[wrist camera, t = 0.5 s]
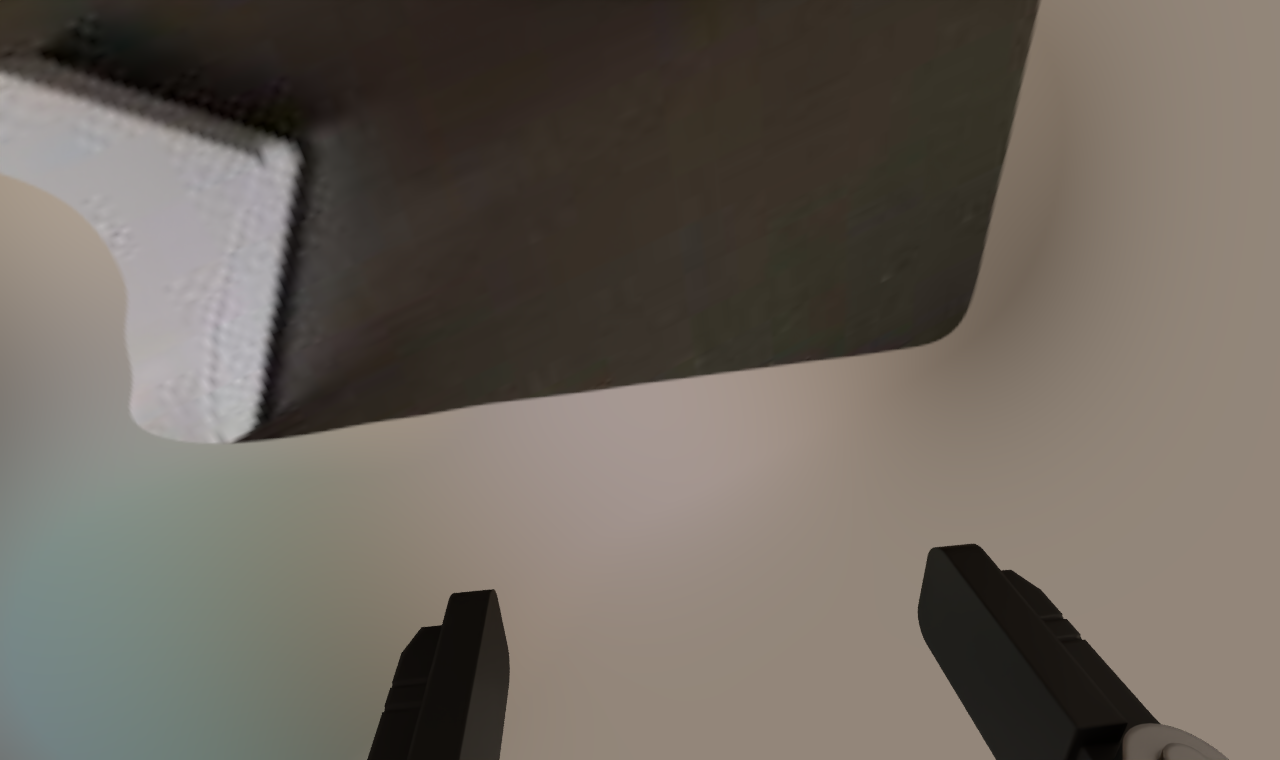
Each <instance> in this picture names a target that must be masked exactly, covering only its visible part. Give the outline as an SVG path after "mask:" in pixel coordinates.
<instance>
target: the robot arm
mask: <svg viewBox="0 0 1280 760" xmlns="http://www.w3.org/2000/svg"><path fill="white" fill-rule="evenodd" d="M918 620H919V625H920V629H921V632H922V635H923V638H924V640H925V642H926V644H927V645H928V647H929V649H930V650H931V652H932V654H933V655H934V657H935V659H936V660H937V662H938V663H939V665H940V667H941V669H942V670H943V672H944V674H945V675H946V677H947V679H948V680H949V682H950V684H951V685H952V687H953V689H954V690H955V692H956V694H957V695H958V697H959V698H960V700H961V702H962V703H963V705H964V707H965V709H966V710H967V712H968V714H969V715H970V717H971V718H972V720H973V722H974V724H975V725H976V727H977V729H978V730H979V732H980V733H981V735H982V737H983V739H984V740H985V742H986V744H987V745H988V747H989V748H990V750H991V752H992V754H993V755H994V757H995V758H996V760H1229V759H1227V758H1226V757H1225V756H1224V755H1223V754H1222V753H1220V752H1219V751H1218V750H1217V749H1215V748H1214V747H1212V746H1211V745H1209V744H1208V743H1206V742H1205V741H1203V740H1201V739H1199V738H1197V737H1196V736H1194V735H1192V734H1190V733H1187V732H1185V731H1183V730H1180V729H1177V728H1174V727H1171V726H1166V725H1162V724H1160V723H1159V722H1158V721H1157V720H1156V719H1155V718H1154V717H1153V716H1152V715H1151V713H1150V712H1149V711H1148V710H1147V709H1146V708H1145V707H1144V706H1143V704H1142V703H1141V702H1140V701H1139V700H1138V699H1137V698H1136V697H1135V695H1134V694H1133V693H1132V692H1131V691H1130V690H1129V689H1128V688H1127V686H1126V685H1125V684H1124V683H1123V682H1122V681H1121V680H1120V679H1119V677H1117V675H1116V674H1115V673H1114V672H1113V671H1112V670H1111V668H1110V667H1109V666H1108V665H1107V664H1106V663H1105V662H1104V660H1103V659H1102V658H1101V657H1100V656H1099V655H1098V654H1097V653H1096V651H1095V650H1094V649H1093V648H1092V647H1091V646H1090V645H1089V644H1088V642H1087V641H1086V640H1082V639H1081V637H1080V634H1079V632H1078V631H1077V630H1076V629H1075V628H1074V627H1073V626H1072V625H1071V623H1070V622H1069V621H1068V620H1067V619H1063V617H1062V613H1061V612H1060V611H1059V610H1058V609H1057V608H1056V607H1055V605H1054V604H1053V603H1052V602H1051V601H1050V600H1049V599H1048V597H1047V596H1046V595H1045V594H1044V593H1043V592H1042V591H1041V590H1040V589H1039V588H1037V587H1036V586H1034V585H1033V584H1031V583H1030V582H1028V581H1027V580H1025V579H1024V578H1022V577H1021V576H1019V575H1018V574H1017V573H1015V572H1014V571H1012V570H1003V571H1001V570H1000V569H999V568H998V567H997V565H996V564H995V563H994V562H993V561H992V560H991V558H990V557H989V556H988V555H987V554H986V552H985V551H984V550H983V549H982V548H981V547H979V546H978V545H976V544H965V545H955V546H945V547H935V548H932V549H931V550H930V552H929V553H928V557H927V563H926V568H925V573H924V578H923V583H922V588H921V594H920V599H919V604H918ZM509 670H510V667H509V652H508V646H507V641H506V636H505V631H504V626H503V622H502V617H501V612H500V608H499V603H498V598H497V594H496V592H495V590H494V589H492V590H482V591H472V592H461V593H453V594H452V595H451V596H450V598H449V601H448V605H447V609H446V612H445V616H444V620H443V624H442V625H440V626H431V627H422V628H421V629H420V630H419V631H418V633H417V634H416V635H415V636H414V638H413V639H412V641H411V642H410V643H409V644H408V646H407V647H406V648H405V650H404V651H403V652H402V653H401V656H400V660H399V663H398V666H397V669H396V672H395V675H394V679H393V681H392V684H393V685H392V688H390V691H389V694H388V697H387V700H386V703H385V711H384V712H383V713H382V716H381V719H380V722H379V725H378V728H377V731H376V734H375V737H374V740H373V744H372V747H371V750H370V753H369V756H368V759H367V760H499V758H500V750H501V742H502V735H503V726H504V719H505V711H506V703H507V695H508V688H509V673H510V671H509Z"/></svg>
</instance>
